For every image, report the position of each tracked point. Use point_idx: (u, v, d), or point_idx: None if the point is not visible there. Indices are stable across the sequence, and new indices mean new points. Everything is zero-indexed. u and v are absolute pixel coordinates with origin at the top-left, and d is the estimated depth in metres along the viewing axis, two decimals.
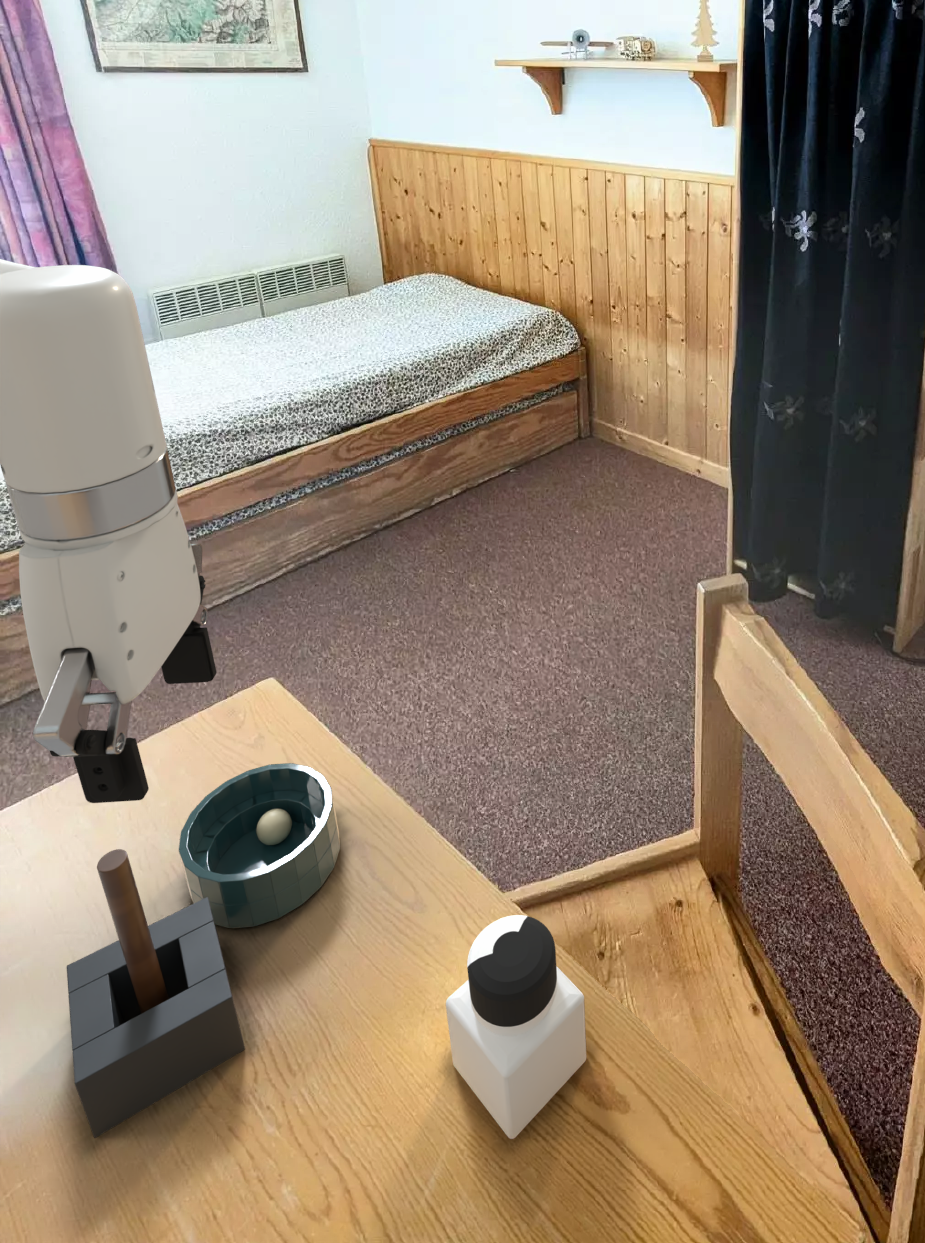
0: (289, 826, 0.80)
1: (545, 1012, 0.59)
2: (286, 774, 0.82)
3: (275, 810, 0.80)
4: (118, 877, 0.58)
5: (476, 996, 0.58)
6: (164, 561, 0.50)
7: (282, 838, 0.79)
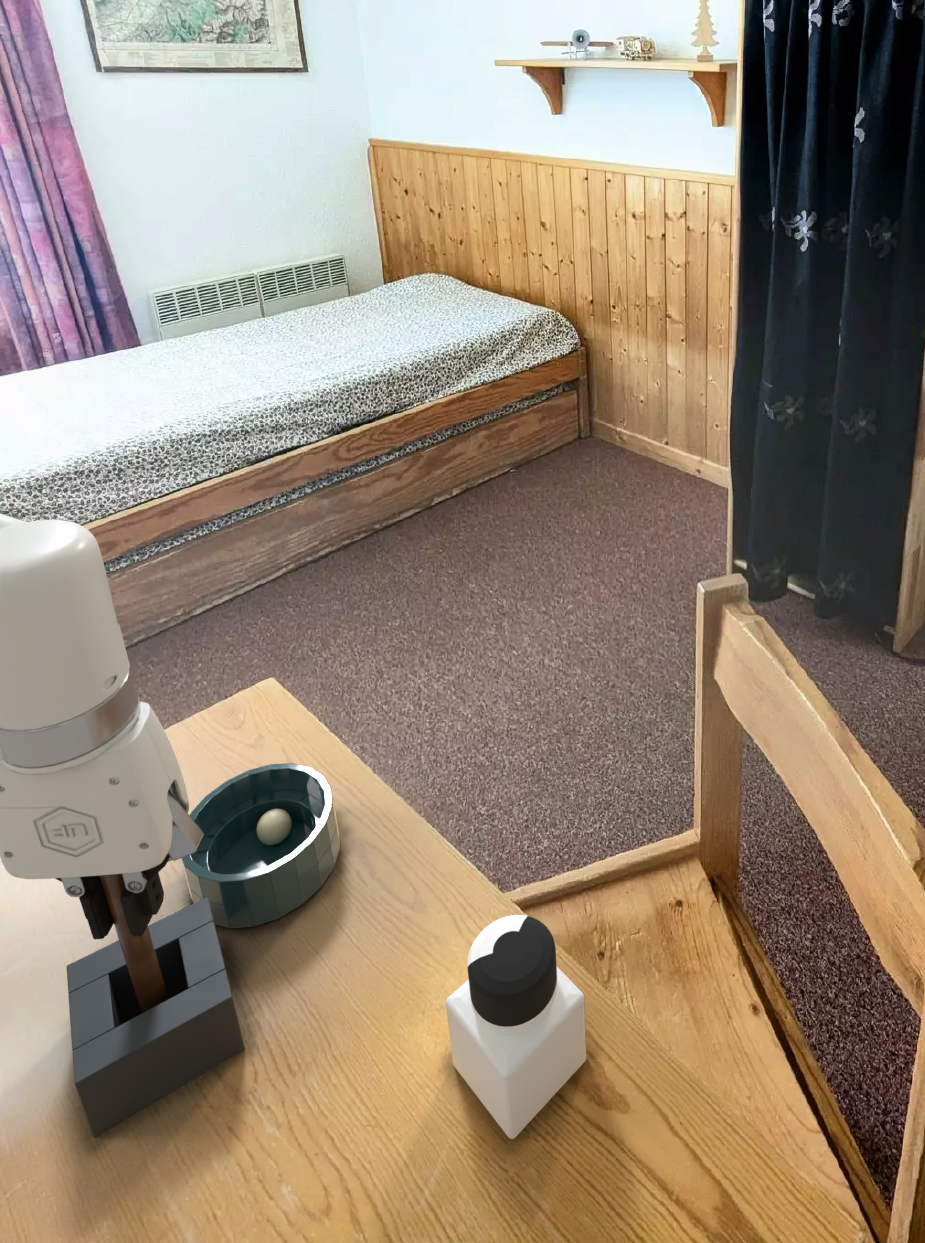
0: (289, 826, 0.80)
1: (545, 1012, 0.59)
2: (286, 774, 0.82)
3: (275, 810, 0.80)
4: (118, 877, 0.58)
5: (476, 996, 0.58)
6: None
7: (282, 838, 0.79)
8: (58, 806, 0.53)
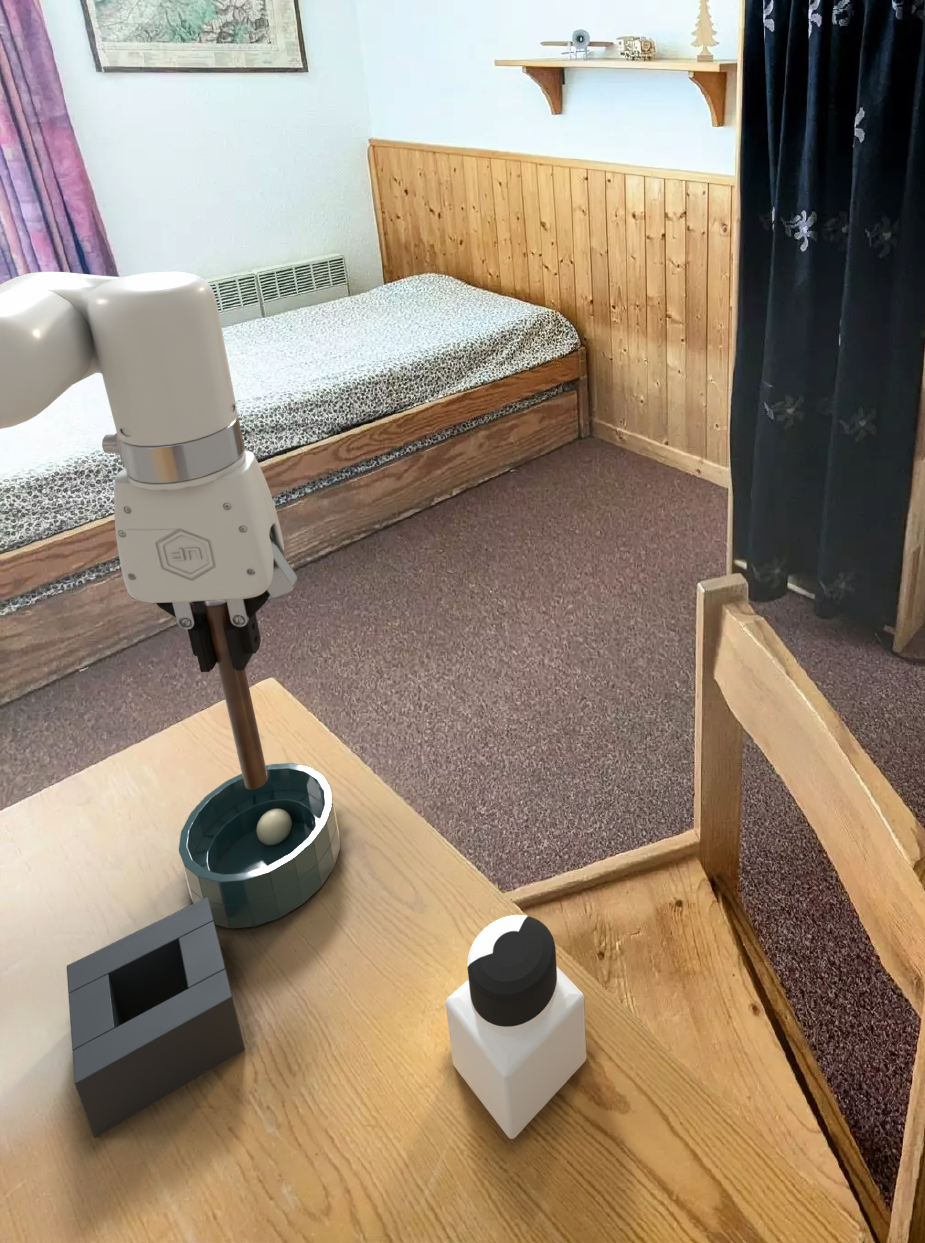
0: (289, 826, 0.80)
1: (545, 1012, 0.59)
2: (286, 774, 0.82)
3: (275, 810, 0.80)
4: (223, 614, 0.65)
5: (476, 996, 0.58)
6: None
7: (282, 838, 0.79)
8: (177, 529, 0.60)
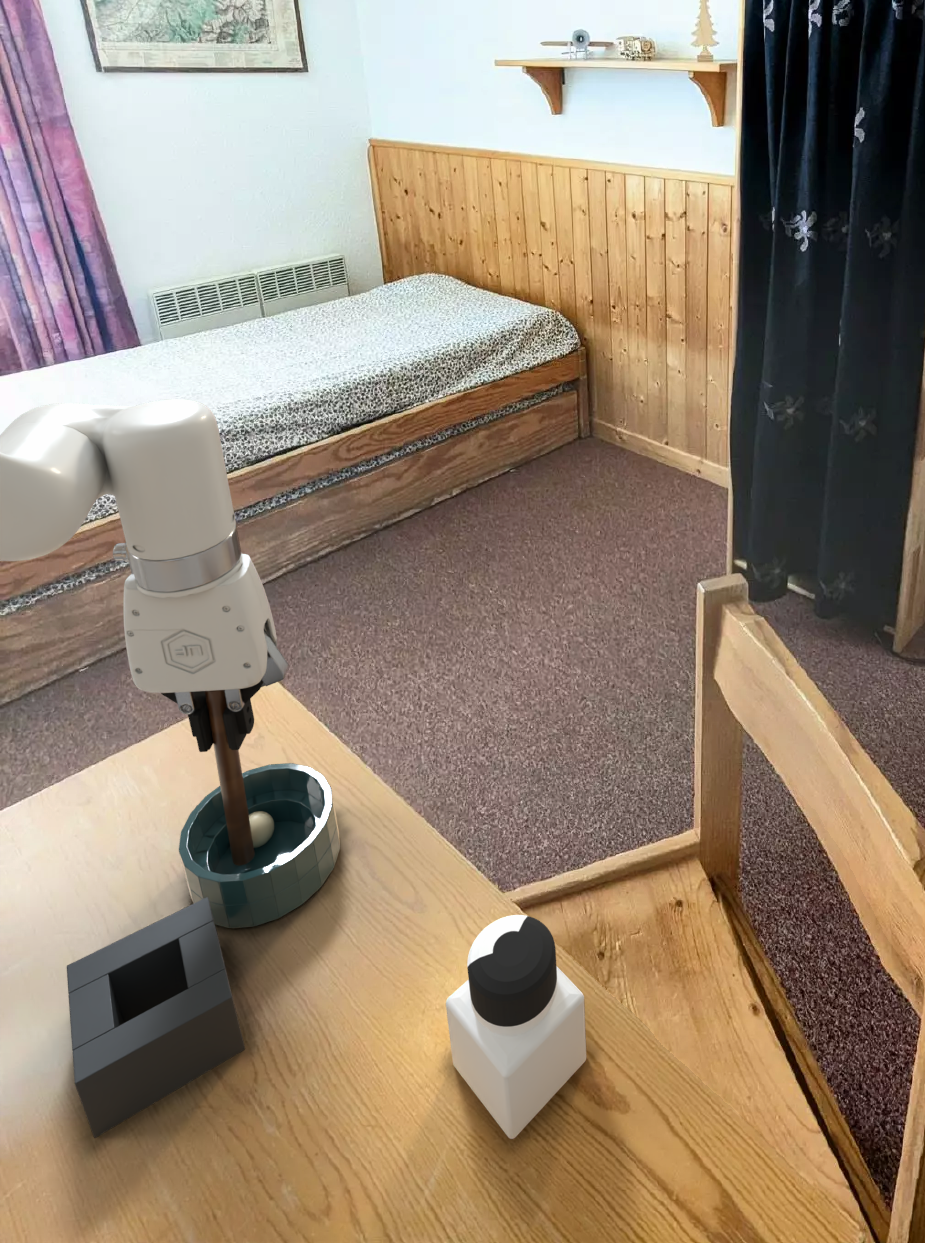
0: (260, 837, 0.78)
1: (545, 1012, 0.59)
2: (286, 774, 0.82)
3: (264, 813, 0.80)
4: (223, 697, 0.72)
5: (476, 996, 0.58)
6: None
7: None
8: (181, 629, 0.67)
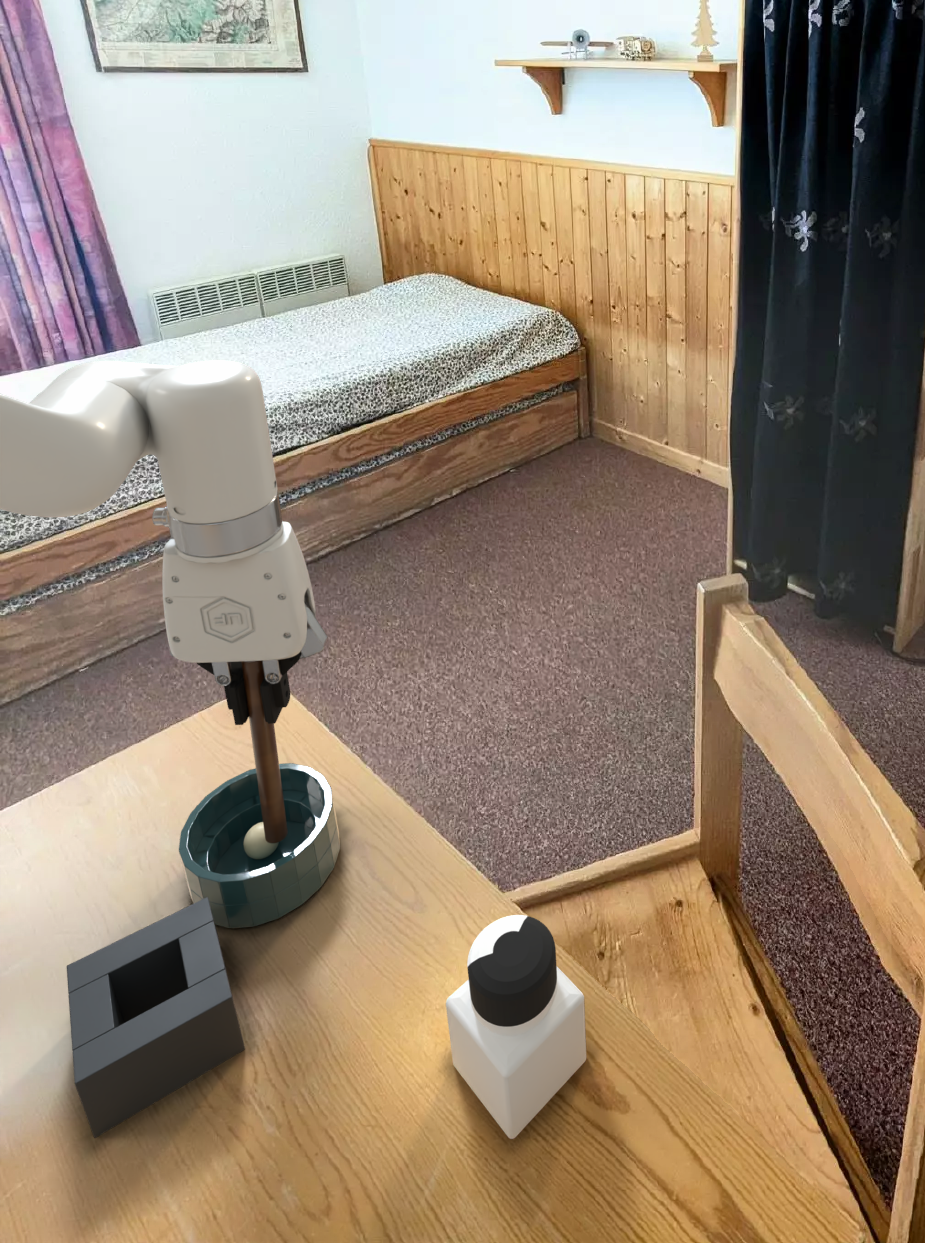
0: (266, 856, 0.78)
1: (545, 1012, 0.59)
2: (286, 774, 0.82)
3: None
4: (260, 669, 0.70)
5: (476, 996, 0.58)
6: None
7: (254, 858, 0.78)
8: (221, 597, 0.65)
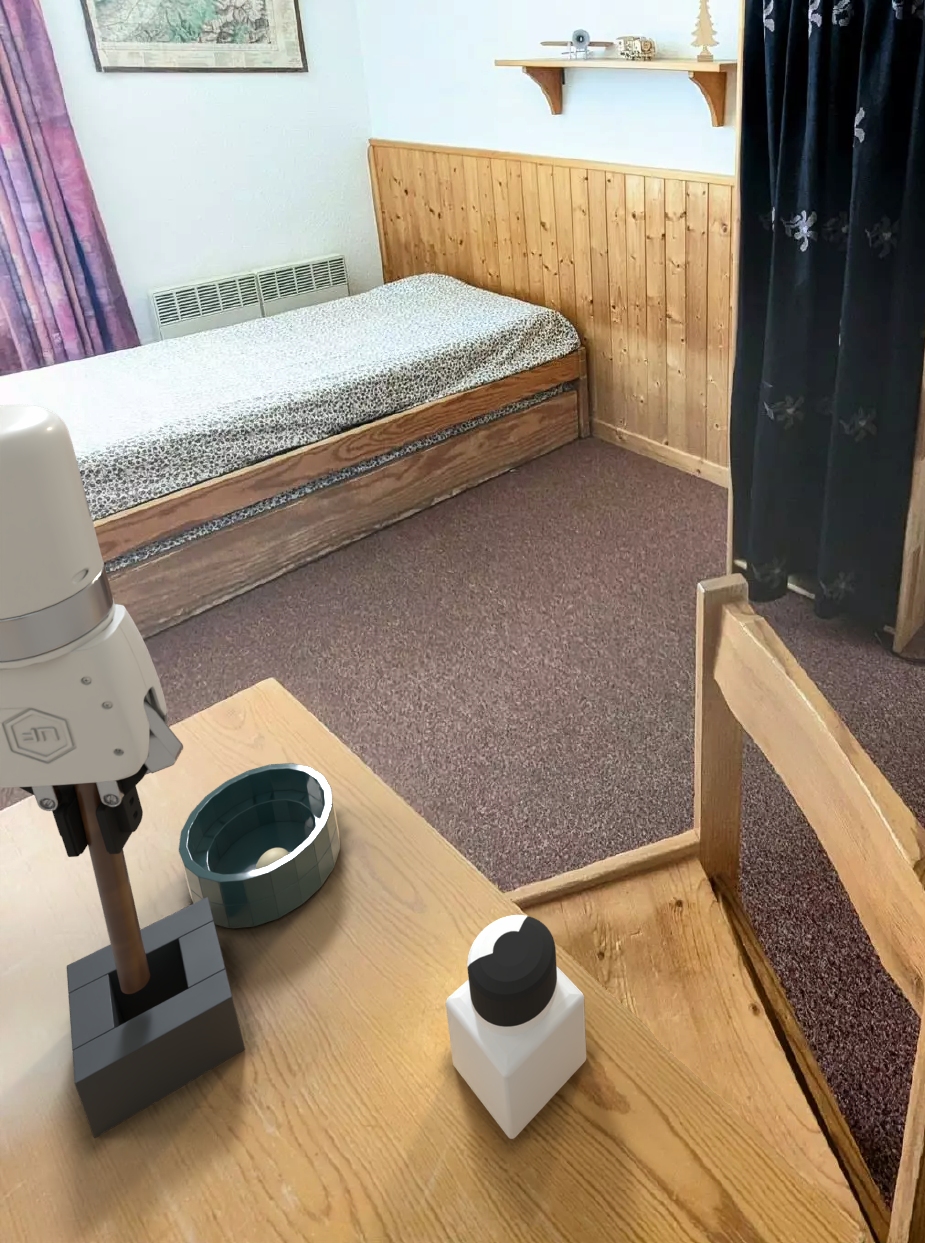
0: None
1: (545, 1012, 0.59)
2: (286, 774, 0.82)
3: None
4: (97, 787, 0.56)
5: (476, 996, 0.58)
6: None
7: None
8: (27, 707, 0.51)
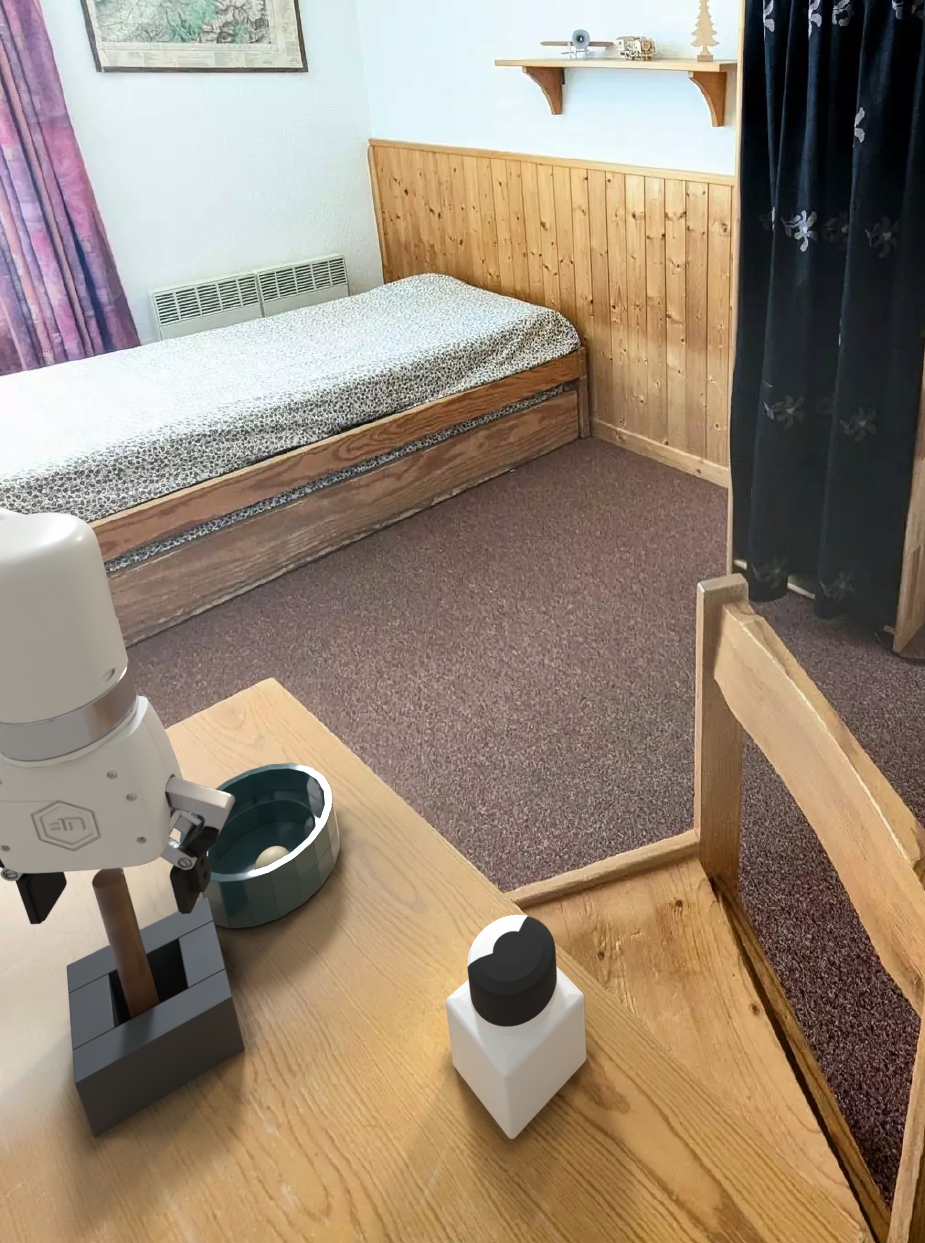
0: None
1: (545, 1012, 0.59)
2: (286, 774, 0.82)
3: None
4: (116, 892, 0.57)
5: (476, 996, 0.58)
6: None
7: None
8: (55, 800, 0.53)
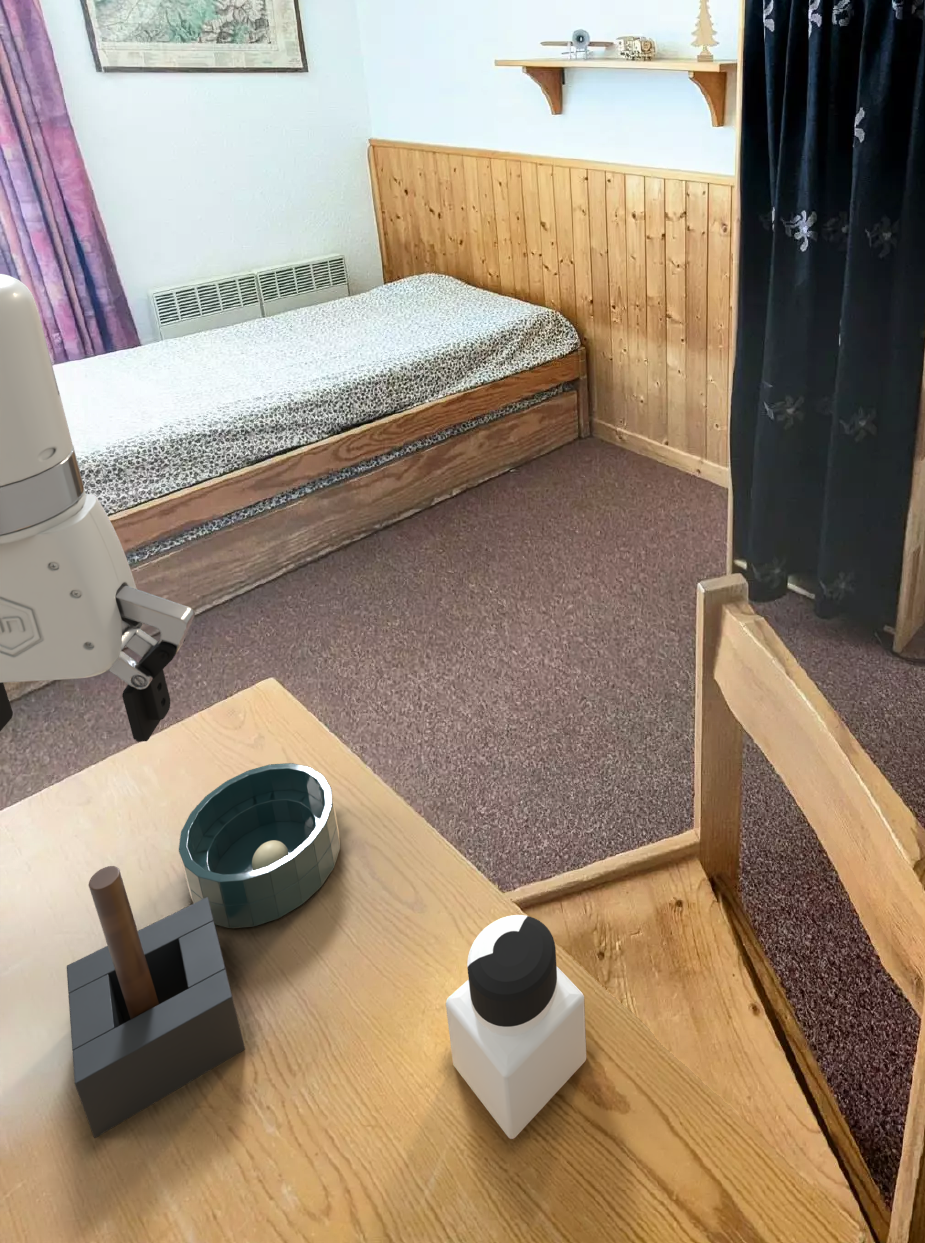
0: None
1: (545, 1012, 0.59)
2: (286, 774, 0.82)
3: None
4: (113, 893, 0.57)
5: (476, 996, 0.58)
6: None
7: None
8: None
